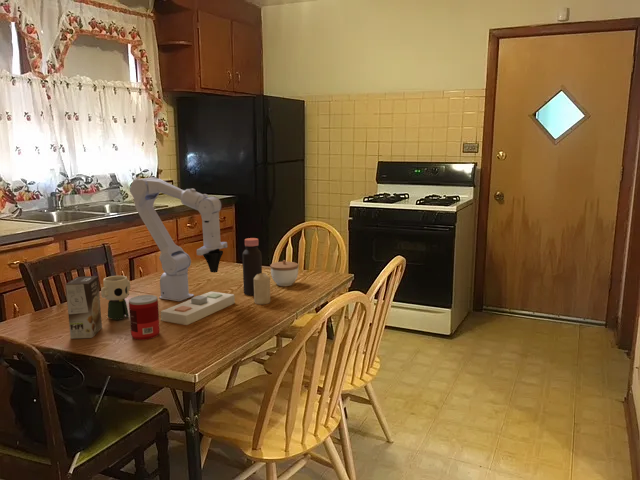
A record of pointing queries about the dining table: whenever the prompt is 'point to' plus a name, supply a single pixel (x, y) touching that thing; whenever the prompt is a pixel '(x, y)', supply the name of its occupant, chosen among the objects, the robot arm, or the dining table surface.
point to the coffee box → (84, 307)
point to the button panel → (197, 309)
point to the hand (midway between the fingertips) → (214, 271)
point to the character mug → (116, 295)
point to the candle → (261, 289)
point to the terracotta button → (183, 309)
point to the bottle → (251, 264)
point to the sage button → (214, 295)
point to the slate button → (199, 300)
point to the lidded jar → (284, 272)
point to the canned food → (144, 317)
